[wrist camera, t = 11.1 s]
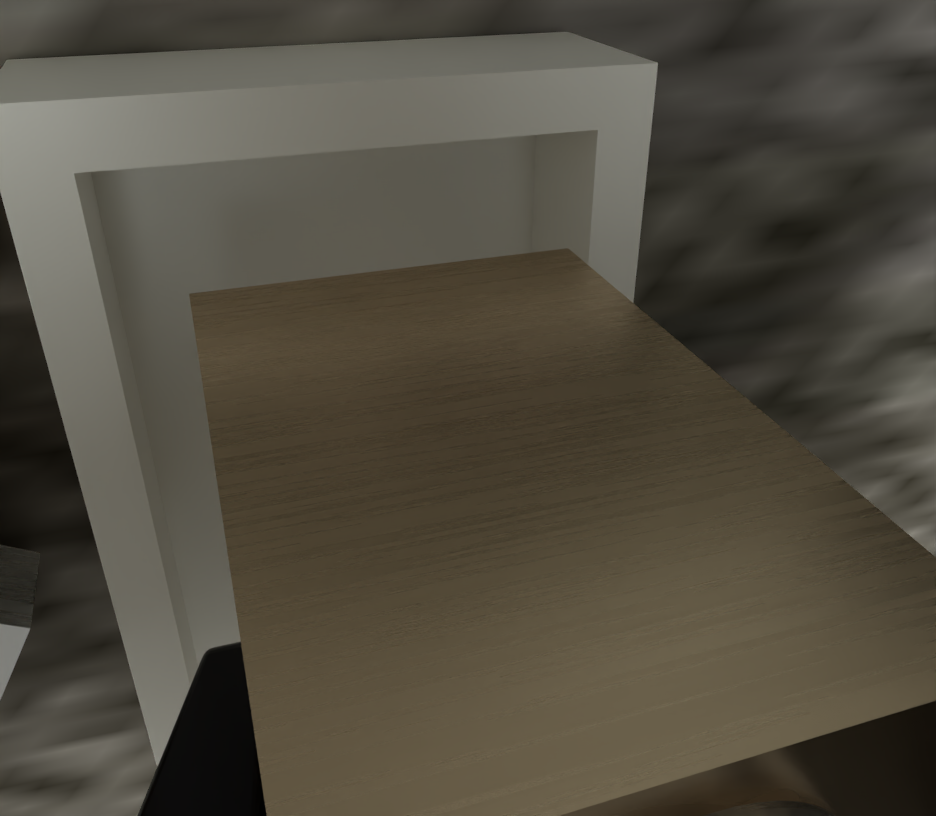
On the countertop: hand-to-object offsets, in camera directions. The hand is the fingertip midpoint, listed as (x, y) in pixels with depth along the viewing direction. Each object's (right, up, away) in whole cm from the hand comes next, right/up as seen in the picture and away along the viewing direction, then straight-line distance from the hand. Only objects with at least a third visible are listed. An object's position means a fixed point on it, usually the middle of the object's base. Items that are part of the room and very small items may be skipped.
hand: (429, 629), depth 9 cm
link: (0, 0, +1) cm, 1 cm away
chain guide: (-1, +2, +3) cm, 4 cm away
